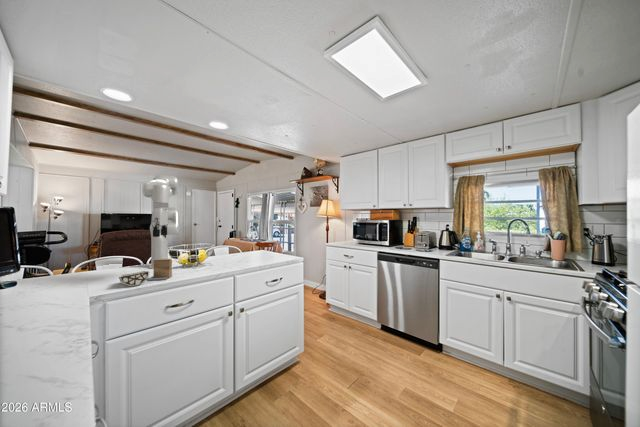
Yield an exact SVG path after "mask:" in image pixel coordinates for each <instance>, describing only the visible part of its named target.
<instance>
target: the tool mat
mask: <svg viewBox="0 0 640 427" xmlns="http://www.w3.org/2000/svg"><path fill="white" fill-rule="evenodd" d="M170 278H171V277H167V278H153V276H151V277H150V278H149V277H148V278H147V279H146V282H154V281H155V282H157V281H158V282H159V281H167V280H168V279H170Z"/></svg>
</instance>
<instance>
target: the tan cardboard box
mask: <svg viewBox="0 0 640 427" xmlns="http://www.w3.org/2000/svg"><path fill="white" fill-rule="evenodd" d="M152 277H153V278H167V277H170V278H172V277H173V258H168V259H156V260H154V268H153V276H152Z"/></svg>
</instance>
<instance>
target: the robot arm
mask: <svg viewBox="0 0 640 427" xmlns="http://www.w3.org/2000/svg"><path fill="white" fill-rule="evenodd" d="M178 179H179V178H177V177H176V176H174V175H169V174H168V175H166V174H165V175H164V174H157V175H155V176H154V177H153V179H152V180H147V181H146V182H144V184H143V186H142V195H143V196H144V197H145V198H150V199H151V201H152V212H151V222H150V225H149V231H150V238H151V240H150V241H151V243H150V244H151V245H150V246H151V249H150V250H151V251H150V254H151V255H150V256H151V259H150V265H148V267H147V268H149V269H154V260H156V259H169V258H168V256H169V254H168V253H169V248H168V246H169V245H168V244H169V240H168V239H167V237H165V236H167V235H168V236H169V235H170V236H174V235H177V234H179V233H180V229H181V228H180V226H181V225H180V220H181V219H180V210H179V209H178V208H177V207H169V200H170V199H169V198H171V196H175V195H176V196H177V194H178V191H179V180H178Z"/></svg>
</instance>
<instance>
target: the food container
mask: <svg viewBox="0 0 640 427" xmlns="http://www.w3.org/2000/svg"><path fill="white" fill-rule="evenodd" d="M149 275H150V271H148V270H143V271H138V272H132V273H127V274H122V275H121V276H118V279H119V282H120V283H121V284H123V285H124V286H127V287H137V286H140V285H142V284H144V282H147V280H148V279H149Z"/></svg>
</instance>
